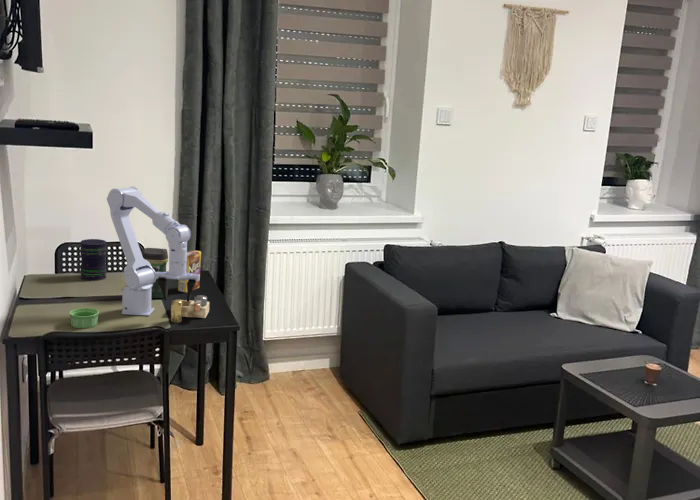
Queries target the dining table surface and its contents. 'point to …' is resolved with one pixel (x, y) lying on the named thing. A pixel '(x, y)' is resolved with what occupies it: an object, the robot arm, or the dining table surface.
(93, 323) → the ramekin
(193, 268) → the candy box
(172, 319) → the brass pin
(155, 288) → the coffee jar
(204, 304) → the copper tipped joystick
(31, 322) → the dining table surface
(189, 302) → the birch block
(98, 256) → the storage jar
